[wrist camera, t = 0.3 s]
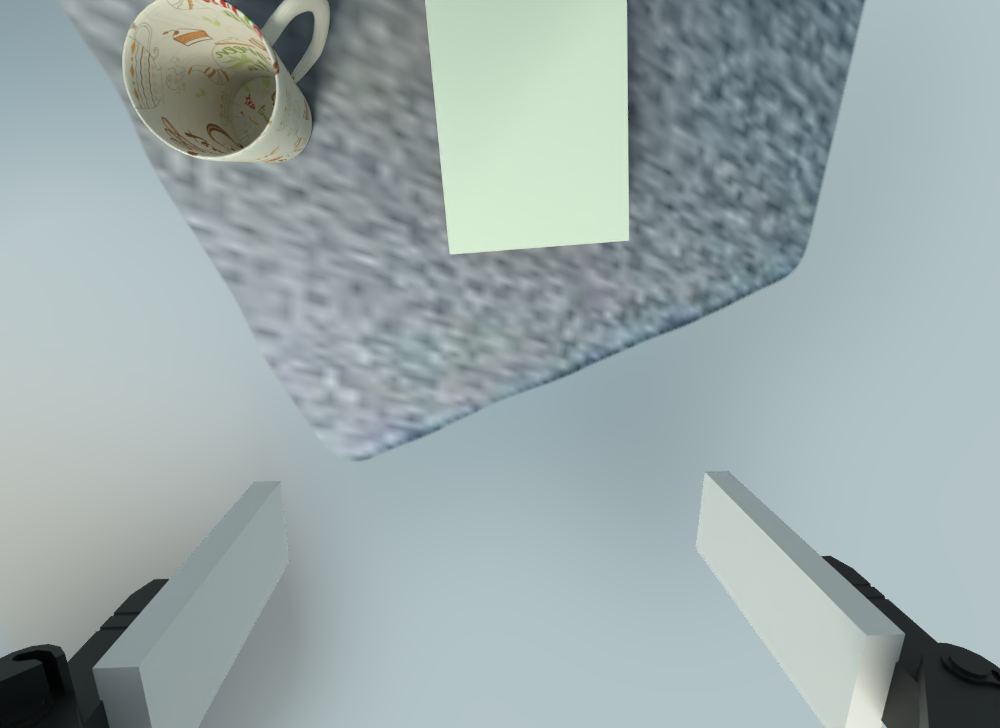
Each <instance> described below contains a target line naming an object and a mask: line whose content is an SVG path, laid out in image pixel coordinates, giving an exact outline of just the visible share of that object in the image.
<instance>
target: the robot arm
mask: <svg viewBox="0 0 1000 728" xmlns="http://www.w3.org/2000/svg"><path fill="white" fill-rule="evenodd" d="M696 549H697V550H698V552H699V553H700V555H701V556H702V557H703V559H704V560H705V562H706V563H707V564H708V566H709V567H710V568H711V570H712V571H713V573H714V574H715V575H716V577H717V578H718V580H719V581H720V582H721V584H722V585H723V586H724V588H725V589H726V591H727V592H728V594H729V595H730V596H731V597H732V599H733V600H734V602H735V603H736V605H737V606H738V607H739V609H740V610H741V612H742V613H743V614H744V616H745V617H746V619H747V620H748V621H749V623H750V624H751V625H752V627H753V628H754V629H755V631H756V632H757V634H758V635H759V636H760V638H761V639H762V640H763V642H764V644H765V645H766V646H767V648H768V649H769V651H770V652H771V653H772V655H773V656H774V657H775V659H776V660H777V662H778V663H779V664H780V666H781V667H782V669H783V670H784V671H785V673H786V674H787V676H788V677H789V678H790V680H791V681H792V682H793V684H794V685H795V687H796V688H797V689H798V691H799V692H800V693H801V695H802V696H803V698H804V699H805V700H806V702H807V703H808V705H809V706H810V708H811V709H812V710H813V712H814V713H815V714H816V716H817V717H818V719H819V720H820V721H821V723H822V724H823V726H824V727H825V728H881V727H882V723H884V724H885V725H886V727H887V728H1000V668H998V667H997V666H996V665H994V664H993V663H991V662H990V661H988V660H987V659H985V658H984V657H982V656H980V655H978V654H976V653H974V652H972V651H969V650H967V649H965V648H962V647H959V646H955V645H952V644H948V643H937V642H936V641H935V640H934V639H933V638H932V637H930V636H929V635H928V634H927V633H926V632H925V631H924V630H923V629H921V628H920V627H919V626H918V625H917V624H916V623H914V622H913V621H912V620H911V619H910V618H909V617H908V616H907V615H905V614H904V613H903V612H902V611H901V610H900V609H899V608H897V607H896V606H895V605H894V604H893V603H892V602H891V601H889V600H888V599H885V596H884V595H882V594H881V593H880V592H879V591H878V590H877V589H875V587H871V586H870V583H869V582H868V581H867V580H865V579H864V578H863V577H862V576H861V575H860V574H858V573H857V572H856V571H855V570H854V569H853V568H851V567H849V566H847V565H846V564H844V563H842V562H840V561H839V560H837V559H835V558H833V557H831V556H820V555H819V554H818V553H817V552H816V551H815V550H814V549H812V548H811V547H810V546H809V545H808V544H807V543H806V542H805V541H804V540H803V539H802V538H800V537H799V536H798V535H797V534H796V533H795V532H794V531H793V530H792V529H791V528H789V526H787V525H786V524H785V523H784V522H783V521H782V520H781V519H780V518H779V517H778V516H777V515H775V514H774V513H773V512H772V511H771V510H770V509H769V508H768V507H767V506H766V505H765V504H763V503H762V502H761V501H760V500H759V499H758V498H757V497H756V496H755V495H754V494H753V493H751V492H750V491H749V490H748V489H747V488H746V487H745V486H744V485H743V484H742V483H741V482H740V481H738V480H737V479H736V478H735V477H734V476H733V475H732V474H731V473H730V472H728V471H722V472H705V475H704V484H703V492H702V500H701V508H700V517H699V525H698V533H697V542H696ZM289 561H290V559H289V550H288V542H287V533H286V524H285V516H284V507H283V499H282V490H281V482H280V481H268V482H267V481H264V482H254V483H253V484H252V485H251V486H250V487H249V488H248V490H247V491H246V492H245V493H244V494H243V495H242V497H241V498H240V499H239V500H238V501H237V502H236V503H235V505H234V506H233V507H232V508H231V509H230V510H229V512H228V513H227V514H226V515H225V516H224V517H223V518H222V520H221V521H220V522H219V523H218V524H217V525H216V527H215V528H214V529H213V530H212V531H211V532H210V533H209V535H208V536H207V537H206V538H205V539H204V540H203V542H202V543H201V544H200V545H199V546H198V547H197V549H196V550H195V551H194V552H193V553H192V554H191V555H190V557H189V558H188V559H187V560H186V561H185V562H184V564H183V565H182V566H181V567H180V568H179V569H178V570H177V571H176V573H175V574H174V575H173V576H172V577H171V578H170V579H156V580H153V581H151V582H150V583H148V584H147V585H145V586H144V587H142V588H141V589H139V590H138V591H136V592H135V593H133V594H132V595H130V596H129V597H128V599H127V600H126V601H125V602H124V603H123V604H122V605H121V606H120V607H119V608H118V609H117V610H116V611H115V612H114V616H111V617H110V618H109V619H108V620H107V621H106V622H105V623H104V624H103V625H102V626H101V627H100V631H97V632H96V633H95V634H94V635H93V636H92V637H91V638H90V639H89V640H88V641H87V642H86V643H85V644H84V645H83V646H82V648H81V649H80V650H79V651H78V652H77V653H76V654H75V655H74V656H73V657H72V658H71V659H70V660H69V661H68V662H67V660H66V656H65V653H64V652H63V650H62V649H61V647H58V646H54V645H50V644H46V645H38V646H31V647H28V648H25V649H22V650H19V651H15V652H12V653H11V654H8V655H6V656H4V657H2V658H0V728H198V726H199V724H200V723H201V721H202V718H203V717H204V715H205V713H206V712H207V710H208V708H209V706H210V704H211V703H212V701H213V699H214V697H215V695H216V693H217V692H218V690H219V688H220V686H221V684H222V683H223V681H224V679H225V677H226V675H227V673H228V672H229V670H230V668H231V666H232V664H233V663H234V661H235V659H236V657H237V655H238V654H239V652H240V650H241V648H242V646H243V644H244V643H245V641H246V639H247V637H248V635H249V634H250V632H251V630H252V628H253V626H254V624H255V623H256V620H257V619H258V617H259V615H260V614H261V612H262V610H263V608H264V606H265V604H266V603H267V601H268V599H269V597H270V595H271V593H272V592H273V590H274V588H275V586H276V584H277V583H278V581H279V579H280V577H281V575H282V574H283V572H284V570H285V568H286V566H287V564H288V563H289Z"/></svg>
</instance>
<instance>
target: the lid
mask: <svg viewBox="0 0 1000 728" xmlns="http://www.w3.org/2000/svg"><path fill="white" fill-rule="evenodd" d="M425 6H426V16H427V26H428V36H429V47H430V57H431V67H432V78H433V88H434V98H435V108H436V119H437V129H438V139H439V150H440V160H441V170H442V180H443V191H444V201H445V211H446V222H447V232H448V242H449V252H450V254H461V253H474V252H487V251H500V250H512V249H525V248H538V247H551V246H564V245H577V244H590V243H603V242H615V241H628V240H629V185H628V71H627V0H425Z"/></svg>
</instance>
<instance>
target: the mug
mask: <svg viewBox="0 0 1000 728" xmlns="http://www.w3.org/2000/svg"><path fill="white" fill-rule="evenodd" d="M306 11H311V12H313V14H314V32H313V38H312V41H311V43H310V45H309V47H308V49H307V51H306V53H305V54H304V56H303V57H302V59H301V60H300V62H299V63H298V65H297V66H296V68H295V69H294V71H293V73H292V74H291V75H290V74H289V72H288V71H287V69H286V67H285V66H284V64H283V63H282V61H281V60H280V58H279V56H278V55H277V53H276V52H275V50H274V49H273V47H272V46H273V45H274V43H275V42H276V40H277V39H278V38H279V36H280V35H281V33H282V32H283V30H284V29H285V28H286V26H287V25H288V24H289V22H290V21H291V20H292V19H293V18H294V17H295V16H297V15H299V14H301V13H303V12H306ZM329 23H330V6H329V2H328V0H284V1H283V2H282V3H281V4H280V5H279V6H278V8H277V9H276V10H275V11H274V13H273V14H272V15H271V17H270V18H269V19H268V21H267V22H266V24H265V25H264V26H263V28H262V29H261V30H260V29H259V28H258V27H257V25H256V24H255V23H254V22H253V21H252V20H251V19H250V18H249V17H248V16H246V15H245V14H244V13H243V12H242V11H240V10H239V9H238V8H236V7H235V6H233V5H231V4H230V3H228V2H226V1H224V0H155V1H153V2H152V3H150V4H149V5H148V6H147V7H145V8H144V9H143V10H142V11H141V12H140V13H139V15H138V16H137V17H136V18H135V20H134V21H133V23H132V25H131V27H130V29H129V31H128V33H127V36H126V39H125V43H124V47H123V55H122V68H123V76H124V82H125V86H126V89H127V92H128V95H129V98H130V100H131V102H132V105H133V106H134V108H135V110H136V112H137V113H138V115H139V116H140V118H141V119H142V121H143V122H144V123H145V125H146V126H147V127H148V128H149V129H150V130H151V131H152V132H153V133H154V134H155V135H156V136H157V137H158V138H160V139H161V140H162V141H163V142H165V143H166V144H168V145H169V146H171V147H172V148H174V149H176V150H178V151H180V152H182V153H184V154H187V155H190V156H192V157H196V158H200V159H205V160H212V161H234V162H265V163H278V162H284V161H287V160H290V159H292V158H294V157H295V156H297V155H298V154H299V153H300V152H301V151H302V150H303V149H304V148H305V146H306V145H307V143H308V141H309V138H310V135H311V130H312V117H311V112H310V108H309V106H308V103H307V101H306V99H305V97H304V96H303V94H302V92H301V91H300V89H299V88H298V86H297V85H296V83H297V82H298V81H299V80H300V79H301V78H302V77H303V76H304V75H305V74H306V73H307V72H308V71H309V69H310V68H311V67H312V66H313V65H314V63H315V62H316V61H317V60H318V58H319V57H320V55H321V53H322V51H323V48H324V46H325V42H326V39H327V35H328V30H329Z"/></svg>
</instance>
